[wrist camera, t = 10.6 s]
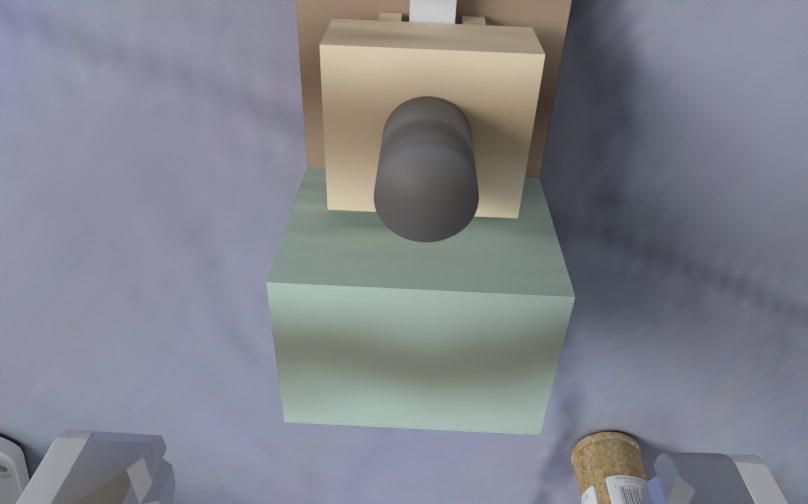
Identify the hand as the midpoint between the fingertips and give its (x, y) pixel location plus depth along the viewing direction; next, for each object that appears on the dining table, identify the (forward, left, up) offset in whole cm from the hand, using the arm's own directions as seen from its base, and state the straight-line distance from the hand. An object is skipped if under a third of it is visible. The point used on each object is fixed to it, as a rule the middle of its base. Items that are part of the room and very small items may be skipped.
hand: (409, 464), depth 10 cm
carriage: (0, 0, -17) cm, 17 cm away
